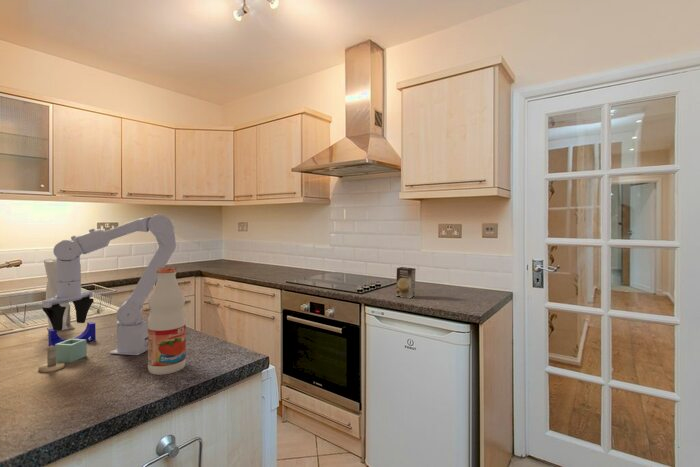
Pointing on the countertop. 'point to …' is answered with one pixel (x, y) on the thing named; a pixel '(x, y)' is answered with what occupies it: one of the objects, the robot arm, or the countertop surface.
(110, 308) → the countertop surface
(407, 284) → the coffee box
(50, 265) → the skyscraper
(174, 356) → the fruit juice
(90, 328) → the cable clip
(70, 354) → the green hollow cube
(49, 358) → the spindle
